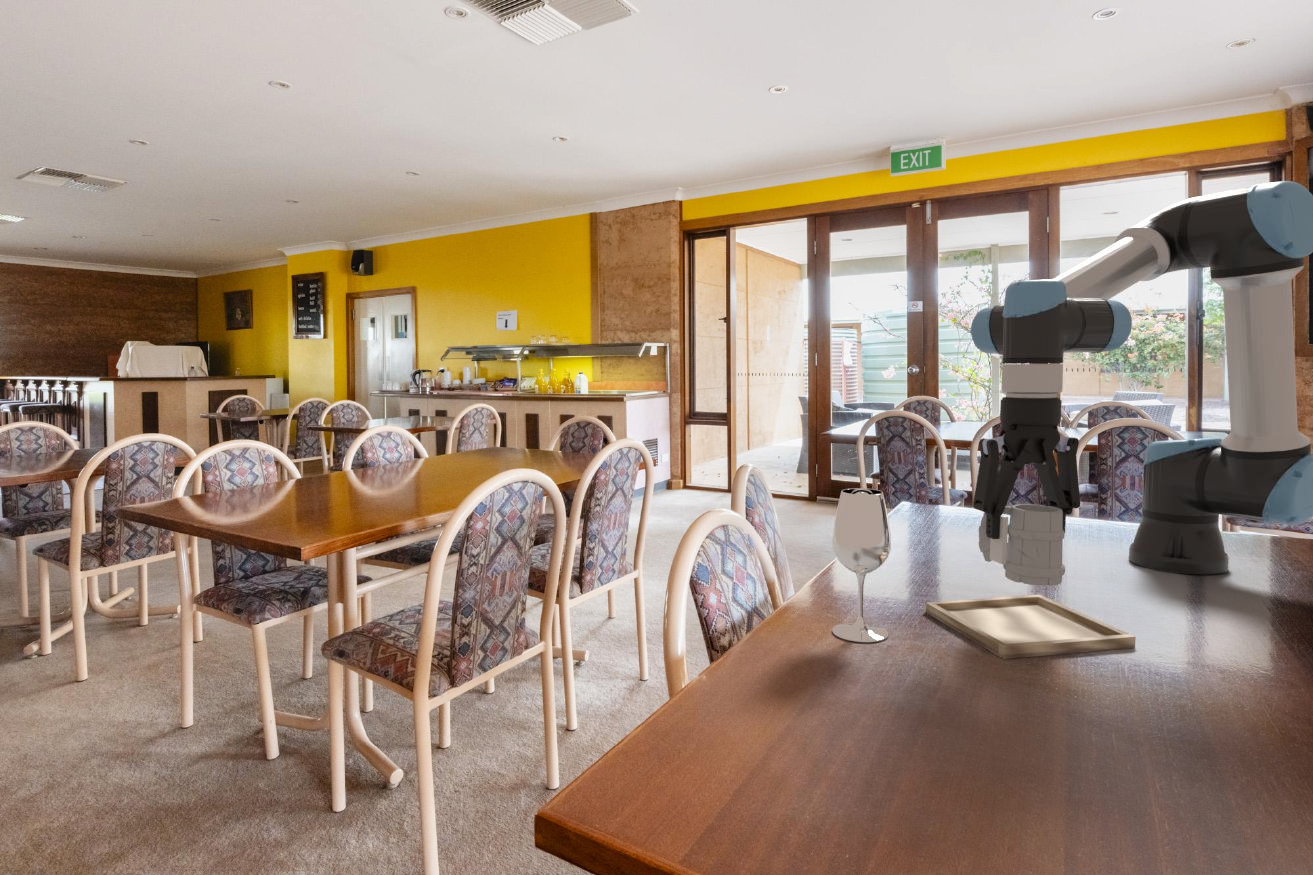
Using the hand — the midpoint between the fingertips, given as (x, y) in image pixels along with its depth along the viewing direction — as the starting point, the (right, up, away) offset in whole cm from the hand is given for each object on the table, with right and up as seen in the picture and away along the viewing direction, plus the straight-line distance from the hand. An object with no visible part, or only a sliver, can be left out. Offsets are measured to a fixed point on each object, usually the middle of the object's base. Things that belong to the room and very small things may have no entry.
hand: (1024, 559), depth 108 cm
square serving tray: (0, -10, +1) cm, 10 cm away
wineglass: (-23, -10, 0) cm, 25 cm away
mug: (-1, -2, 0) cm, 3 cm away
